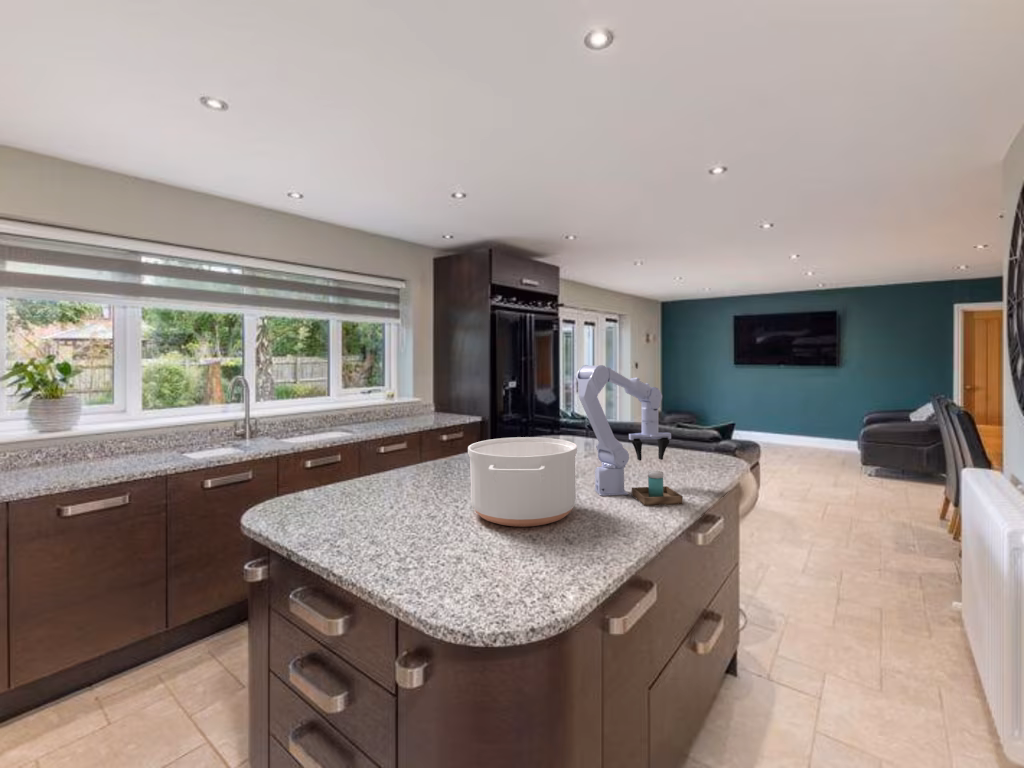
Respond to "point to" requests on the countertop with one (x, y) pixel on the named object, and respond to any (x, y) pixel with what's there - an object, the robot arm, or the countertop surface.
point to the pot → (522, 480)
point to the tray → (668, 499)
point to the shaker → (655, 484)
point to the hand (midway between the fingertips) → (650, 459)
